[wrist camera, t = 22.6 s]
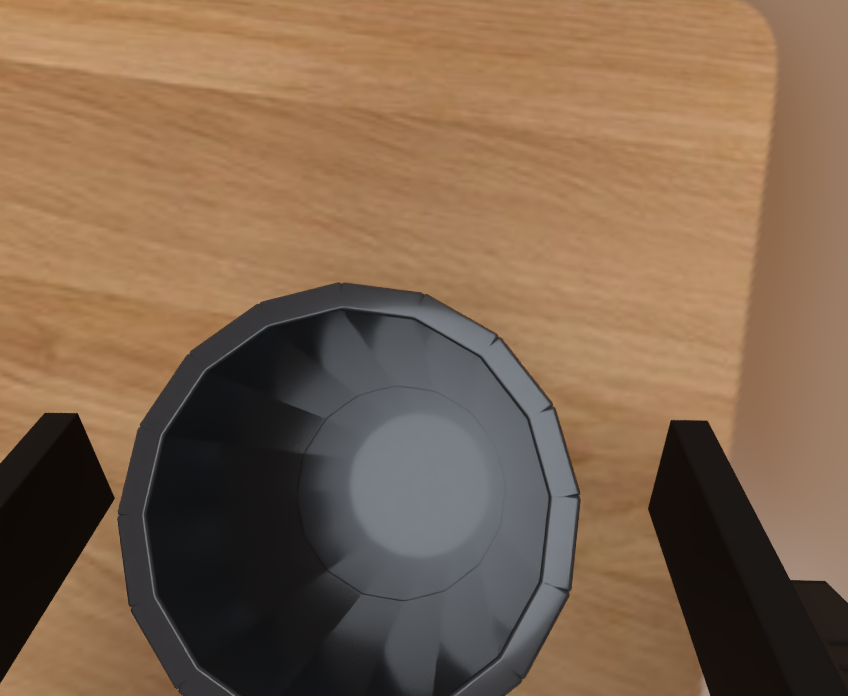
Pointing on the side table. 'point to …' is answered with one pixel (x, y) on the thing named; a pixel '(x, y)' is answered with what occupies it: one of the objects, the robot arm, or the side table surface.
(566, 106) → the side table surface
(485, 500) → the slate cup
